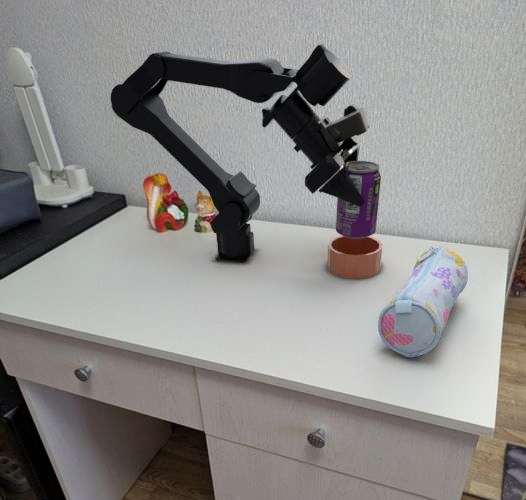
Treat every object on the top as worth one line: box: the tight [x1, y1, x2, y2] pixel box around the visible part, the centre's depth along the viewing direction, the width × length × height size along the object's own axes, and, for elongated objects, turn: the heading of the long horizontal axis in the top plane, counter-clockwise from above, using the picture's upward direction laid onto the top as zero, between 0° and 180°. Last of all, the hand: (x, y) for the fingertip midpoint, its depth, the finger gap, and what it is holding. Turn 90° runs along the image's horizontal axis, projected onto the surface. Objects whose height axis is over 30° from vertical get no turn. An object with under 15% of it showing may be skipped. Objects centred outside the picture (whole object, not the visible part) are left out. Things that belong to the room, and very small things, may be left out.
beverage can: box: [335, 160, 382, 239], centre depth 86 cm, size 7×7×12 cm
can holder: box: [326, 235, 384, 280], centre depth 92 cm, size 10×10×4 cm
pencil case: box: [377, 245, 469, 358], centre depth 73 cm, size 21×9×10 cm, turn 151°
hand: (366, 198), depth 85 cm, fingers closed on beverage can, 7 cm apart
